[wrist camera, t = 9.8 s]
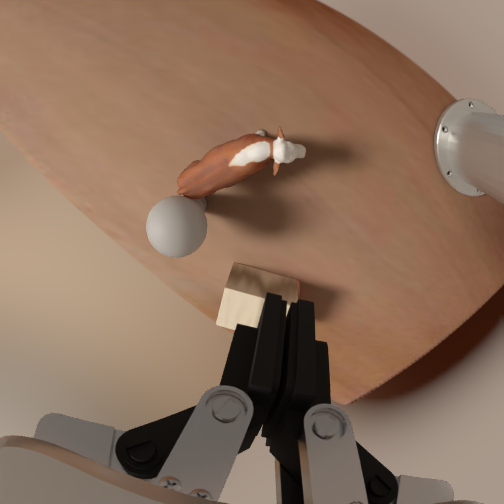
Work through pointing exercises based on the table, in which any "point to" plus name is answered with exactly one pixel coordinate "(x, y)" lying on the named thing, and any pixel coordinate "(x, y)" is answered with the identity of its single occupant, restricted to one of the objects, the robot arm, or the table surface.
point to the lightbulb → (177, 225)
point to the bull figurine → (236, 163)
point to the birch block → (252, 295)
